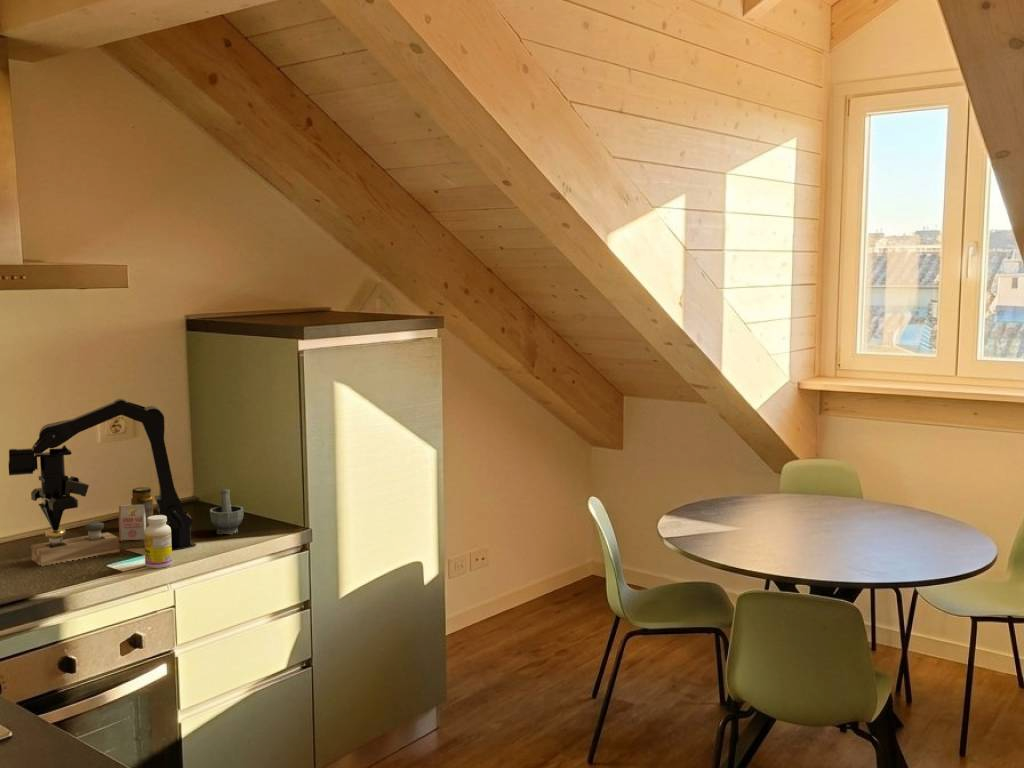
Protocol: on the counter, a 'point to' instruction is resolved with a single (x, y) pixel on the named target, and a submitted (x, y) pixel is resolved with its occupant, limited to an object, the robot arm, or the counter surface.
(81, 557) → the oak block
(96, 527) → the grey domed piece
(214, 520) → the mortar and pestle
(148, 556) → the supplement bottle
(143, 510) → the white printed box
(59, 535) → the brass plug
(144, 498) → the condiment
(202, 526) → the counter surface
